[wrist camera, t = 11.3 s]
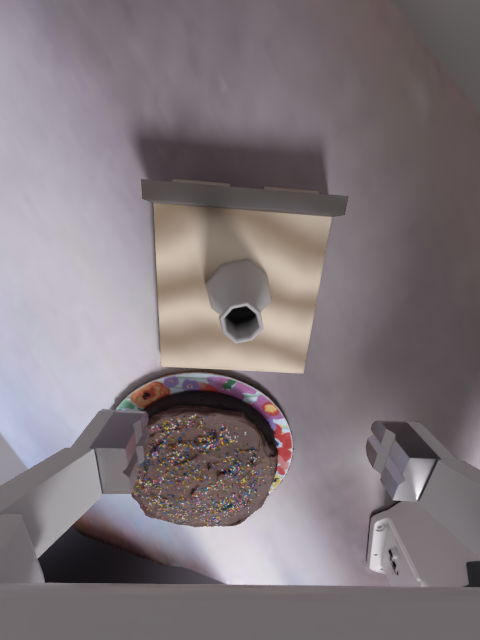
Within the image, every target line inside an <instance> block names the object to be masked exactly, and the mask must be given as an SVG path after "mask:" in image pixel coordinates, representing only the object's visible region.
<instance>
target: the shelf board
mask: <svg viewBox="0 0 480 640" xmlns="http://www.w3.org/2000/svg"><path fill="white" fill-rule="evenodd" d="M141 185H142V199H144V200H147V201H150V202H152V203H153V206H154V227H155V248H156V268H157V289H158V310H159V330H160V351H161V367H181V368H202V369H223V370H244V371H265V372H286V373H303V372H304V366H305V361H306V355H307V350H308V345H309V339H310V334H311V328H312V323H313V317H314V312H315V306H316V301H317V296H318V290H319V285H320V279H321V274H322V268H323V263H324V257H325V252H326V247H327V241H328V236H329V230H330V225H331V219H332V217H335V216H340V215H345V211H346V206H347V201H348V196H339V195H327V194H319V191H312V190H300V189H288V188H276V187H263V188H262V189H255V188H243V187H231V186H230V184H228V183H216V182H204V181H192V180H180V179H172V182H170V181H158V180H146V179H141ZM247 258H248V259H249V260H250V261H252V262H253V263H254V264H255V265H256V266H257V267H258V268H259V269H260V270H262V271H263V272H264V273H265V274H266V275H267V276H268V282H269V287H270V293H271V299H272V301H271V302H270V303H269V304H268V305H267V306H266V308H265V309H264V310H263V311H262V312H261V317H262V322H263V327H264V329H263V330H262V331H261V332H260V333H259V334H258V335H257V336H256V337H255V338H254V339H253V340H251V341H246V342H241V343H234V342H233V341H232V340H231V339H229V338H228V337H227V336H225V335H224V334H223V332H222V328H221V324H220V320H219V316H220V315H219V314H218V313H216V312H215V311H214V310H213V309H211V305H210V301H209V297H208V293H207V290H206V286H205V284H206V282H207V281H208V280H209V279H210V278H211V276H212V275H213V274H214V273H215V272H216V270H217V269H218V268H219V267H220V266H221V264H224V263H229V262H233V261H238V260H242V259H247Z"/></svg>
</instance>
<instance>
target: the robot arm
mask: <svg viewBox="0 0 480 640" xmlns="http://www.w3.org/2000/svg"><path fill="white" fill-rule="evenodd" d="M148 421H149V418H148V413H147V412H145V411H129V410H109V409H102V410H101V411H99V412H98V413H97V414H96V416H95V417H94V418H93V419H92V421H91V422H90V423H89V425H88V426H87V427H86V428H85V430H84V431H83V432H82V434H81V435H80V436H79V437H78V439H77V440H76V441H75V443H74V444H73V445H72V446H71V448H64V449H62V450H61V451H59V452H57V453H56V454H54V455H52V456H50V457H49V458H47V459H45V460H44V461H42V462H40V463H39V464H37V465H35V466H33V467H32V468H30V469H28V470H27V471H25V472H23V473H21V474H20V475H18V476H16V477H15V478H13V479H11V480H10V481H8V482H6V483H4V484H3V485H1V486H0V640H480V470H479V469H477V468H475V467H473V466H472V465H470V464H468V463H466V462H465V461H459V460H458V459H457V458H456V457H455V456H454V455H453V454H452V453H451V452H450V451H449V450H448V449H447V448H446V447H445V446H444V445H443V444H442V443H441V442H440V441H439V440H438V439H437V438H436V437H435V436H434V435H433V434H432V433H431V432H430V431H429V430H428V429H427V428H426V427H425V426H424V425H423V424H421V423H419V422H415V421H403V422H401V421H375V422H374V423H373V424H372V427H371V430H372V432H373V435H372V436H371V437H369V438H368V440H367V444H366V452H367V457H368V459H369V462H370V463H371V465H372V467H373V468H374V469H375V470H376V471H378V472H379V473H380V474H381V479H380V480H381V482H382V484H383V485H384V487H385V489H386V490H387V492H388V494H389V495H390V497H391V499H392V500H396V501H401V502H399V503H398V504H396V505H395V506H393V507H392V508H390V509H388V510H386V511H383V512H381V513H378V514H376V515H374V516H372V518H371V522H370V533H369V543H368V553H367V564H368V566H369V568H370V569H372V570H374V571H376V572H379V573H384V574H386V576H387V579H388V581H389V583H390V585H391V586H309V585H200V584H98V583H95V584H94V583H44V575H43V573H42V570H41V567H40V564H39V561H38V559H37V558H38V557H39V556H40V555H41V554H43V553H44V552H45V551H46V550H47V549H48V548H49V547H50V546H51V545H52V544H53V543H54V542H55V541H56V540H57V539H58V538H59V537H60V536H61V535H62V534H63V533H64V532H65V531H66V530H67V529H68V528H69V527H70V526H71V525H73V524H74V523H75V522H76V521H77V520H78V519H79V518H80V517H81V516H82V515H83V514H84V513H85V512H86V511H87V510H88V509H89V508H90V507H91V506H92V505H93V504H94V503H95V502H96V501H97V500H98V499H99V498H100V497H101V496H102V494H131V492H132V490H133V487H134V485H135V482H136V480H137V477H138V475H139V466H138V465H140V464H141V463H142V462H143V461H144V460H145V457H146V455H147V452H148V447H149V442H150V431H149V430H148V429H147V428H146V426H147V424H148Z"/></svg>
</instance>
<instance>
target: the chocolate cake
mask: <svg viewBox="0 0 480 640" xmlns="http://www.w3.org/2000/svg"><path fill="white" fill-rule="evenodd" d="M115 410H129V411H145V412H147V413H148V418H149V421H148V424H147V426H146V428H147V429H148V430H149V431H150V442H149V447H148V452H147V455H146V457H145V460H144V461H143V462H142V463H141V464H140V465H138V466H139V475H138V477H137V480H136V482H135V485H134V487H133V490H132V492H131V495H132V497H133V498H134V499H135V500H136V501H137V502H138V503H139V504H140V508H141V509H142V510H143V511H144V513H145V515H146V516H148V517H150V518H157V519H158V520H160V519H161V520H164V521H168V522H171V523H175V524H178V525H189V526H193V527H200V526H202V527H203V526H207V527H208V526H211V527H213V526H223V527H224V526H236V525H238V524H241V522H243V521H245V520H246V519H247V518H248V517H249V516H250V515H251V514H253V513H254V512H255V511H256V510H258V509H259V508H261V507H262V505H263V504H264V502H265V500H266V498H267V496H268V495H269V493H270V492H272V491H273V490H275V488H276V487H277V486H278V485H279V484H280V483H281V482H282V480H283V478H284V477H285V475H286V472H287V471H288V470H289V467H290V463H291V460H292V458H293V450H294V448H293V441H292V433H291V430H290V428H289V425H288V422H287V420H286V419H285V417H284V415H283V413H282V411H280V408H279V407H278V406H277V405H276V404H275V403H274V402H273V401H272V398H270V397H269V396H268V395H266V394H265V393H263V392H261V391H260V390H259V389H257V388H255V387H253V385H250V384H247V383H245V382H242V381H240V380H237V379H235V378H234V377H231V376H227V375H224V374H220V373H213V372H203V371H201V372H198V371H190V372H182V373H178V374H166V375H164V376H161V377H159V378H157V379H156V380H155V379H154V380H152V381H151V382H146V383H145V384H143V385H141V386H140V387H139V388H137V389H135V390H134V391H132V392H131V393H130V394H129V395H128V396H127V397H125V398H124V399H123V400H122V401H121V402H120V404H119V405H117V406H116V409H115Z"/></svg>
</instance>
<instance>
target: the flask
mask: <svg viewBox="0 0 480 640" xmlns="http://www.w3.org/2000/svg"><path fill="white" fill-rule="evenodd" d="M205 286H206V290H207V293H208V297H209V301H210V305H211V309H213V310H214V311H215V312H216V313H218V314H219V315H220V316H219V320H220V324H221V328H222V332H223V334H224V335H225V336H227V337H228V338H229V339H231V340H232V341H233V342H234V343H241V342H246V341H251V340H253V339H254V338H255V337H256V336H257V335H258V334H259V333H260V332H261V331H262V330H263V329H264V327H263V322H262V317H261V312H262V311H263V310H264V309H265V308H266V306H267V305H268V304H269V303H270V302H271V301H272V299H271V293H270V287H269V282H268V276H267V275H266V274H265V273H264V272H263V271H262V270H260V269H259V268H258V267H257V266H256V265H255V264H254V263H253V262H252V261H250V260H249V259H248V258H247V259H242V260H238V261H233V262H229V263H224V264H221V266H220V267H219V268H218V269H217V270H216V272H215V273H214V274H213V275H212V276H211V278H210V279H209V280H208V281H207V282H206V284H205Z"/></svg>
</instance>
